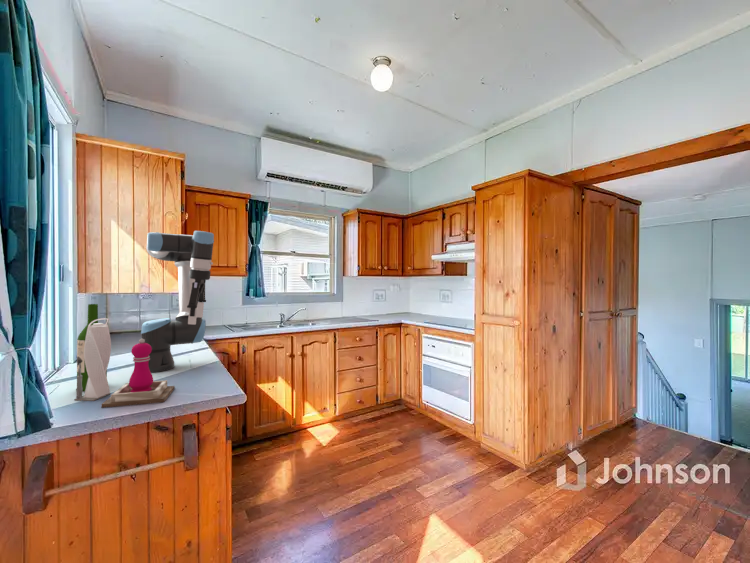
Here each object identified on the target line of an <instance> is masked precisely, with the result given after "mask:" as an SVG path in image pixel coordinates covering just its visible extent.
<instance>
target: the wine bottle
mask: <svg viewBox="0 0 750 563" xmlns="http://www.w3.org/2000/svg"><path fill="white" fill-rule="evenodd" d="M96 319H99V305H98V303H88V304H87V323H86V325H85V327H84V328H83V329H82V331H80V333H79V334H78V337H77V338H76V339H77V340H76V341H77V342H76V343H77V344H76V377H77V376H78V369H79V364H80V368H81V375H82V388H83V391H82V392H85V390H86V385H87V381H88V373H87V370H86V365H85V358H84V346H85V338H86V333H87V328H88V325H89V324H90V323H91V322H92V321H94V320H96ZM94 323H99V320H97V321H95V322H93V323H92V324H91V325H93V324H94ZM91 325H90V326H91ZM106 377H107V378H108V369H107V370H106Z"/></svg>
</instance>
